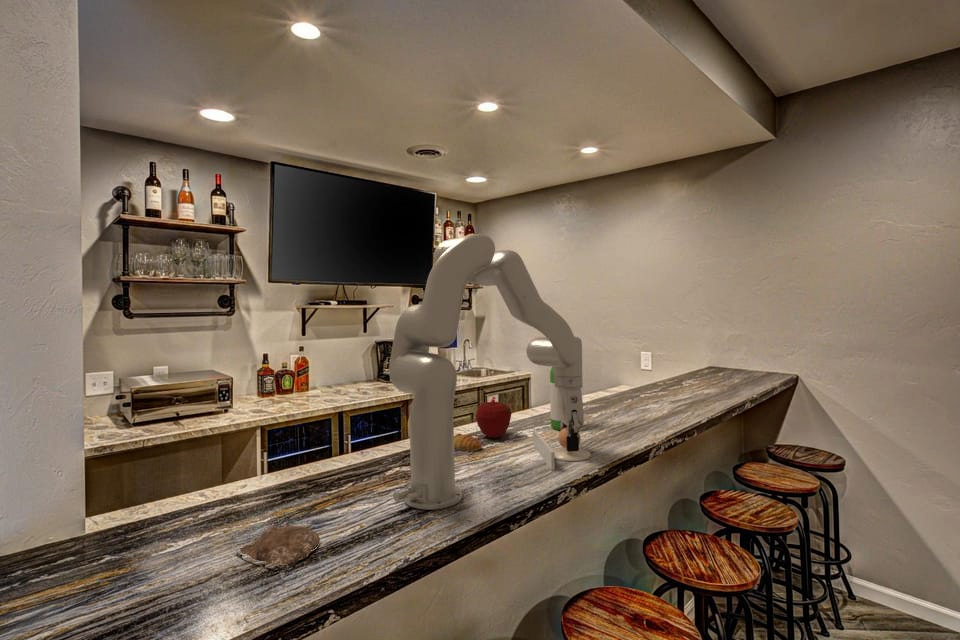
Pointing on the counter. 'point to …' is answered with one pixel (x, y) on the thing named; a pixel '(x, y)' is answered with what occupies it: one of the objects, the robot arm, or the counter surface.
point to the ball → (564, 437)
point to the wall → (544, 450)
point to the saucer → (570, 454)
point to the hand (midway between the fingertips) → (569, 446)
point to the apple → (493, 418)
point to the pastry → (466, 443)
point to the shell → (282, 544)
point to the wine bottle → (554, 402)
